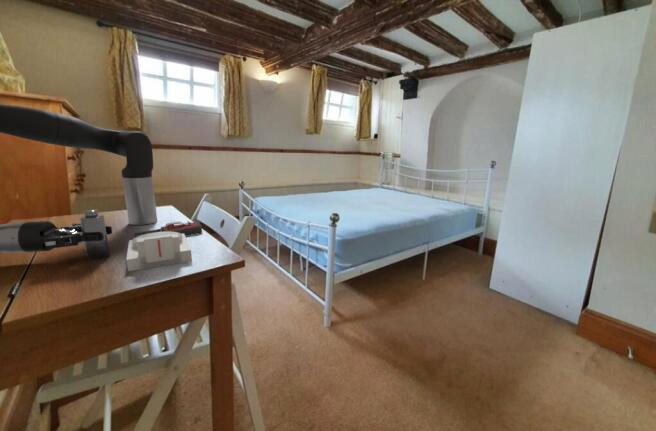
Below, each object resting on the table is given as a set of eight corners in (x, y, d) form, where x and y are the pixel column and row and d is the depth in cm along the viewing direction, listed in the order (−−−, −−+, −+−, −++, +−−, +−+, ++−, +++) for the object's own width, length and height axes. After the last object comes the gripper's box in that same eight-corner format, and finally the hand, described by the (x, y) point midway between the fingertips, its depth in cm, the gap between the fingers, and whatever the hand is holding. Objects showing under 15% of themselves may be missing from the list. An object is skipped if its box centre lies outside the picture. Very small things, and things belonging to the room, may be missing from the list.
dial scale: (130, 250, 83) (127, 224, 81) (184, 242, 90) (182, 219, 89) (128, 272, 70) (123, 242, 68) (192, 261, 77) (189, 234, 75)
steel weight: (89, 255, 79) (80, 209, 76) (111, 252, 81) (103, 208, 78) (86, 261, 75) (77, 213, 72) (109, 258, 77) (101, 211, 74)
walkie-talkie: (198, 227, 108) (133, 237, 95) (197, 215, 107) (132, 224, 94) (206, 233, 101) (138, 245, 88) (205, 221, 100) (137, 231, 87)
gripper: (1, 230, 65) (92, 226, 70) (41, 215, 78) (115, 212, 83) (9, 262, 67) (97, 256, 72) (47, 242, 80) (119, 237, 85)
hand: (106, 232), depth 77 cm, fingers closed on steel weight, 4 cm apart
